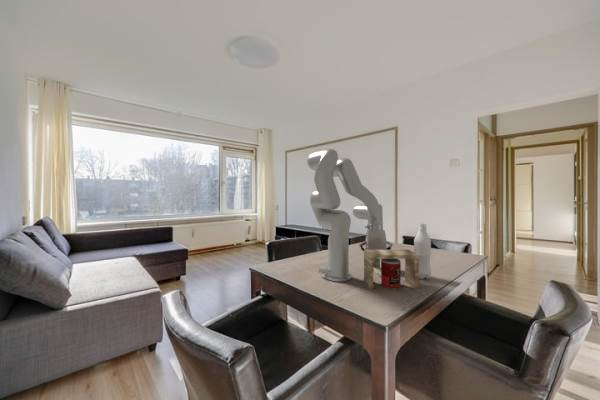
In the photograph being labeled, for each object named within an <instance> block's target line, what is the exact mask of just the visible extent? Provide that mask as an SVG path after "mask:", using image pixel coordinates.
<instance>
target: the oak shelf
mask: <svg viewBox="0 0 600 400" xmlns="http://www.w3.org/2000/svg"><path fill="white" fill-rule="evenodd" d="M373 259H380V260H381V259H399V260H401V259H403V260H405V261H404V266H405V267H404V278H405V279H404V280H405V282H406V283H408V284H409V285H410V286H411V287H412V288H413V289H415V290H419V288H420V287H419V285H420V284H419V283H420V281H419V280H420V278H419V255H418V254H416V253H414V251H412V250H410V249H390V250H364V251H363V281H364V283H365V284H366V286H367V288H368V289H369V290H374V270H373Z"/></svg>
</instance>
